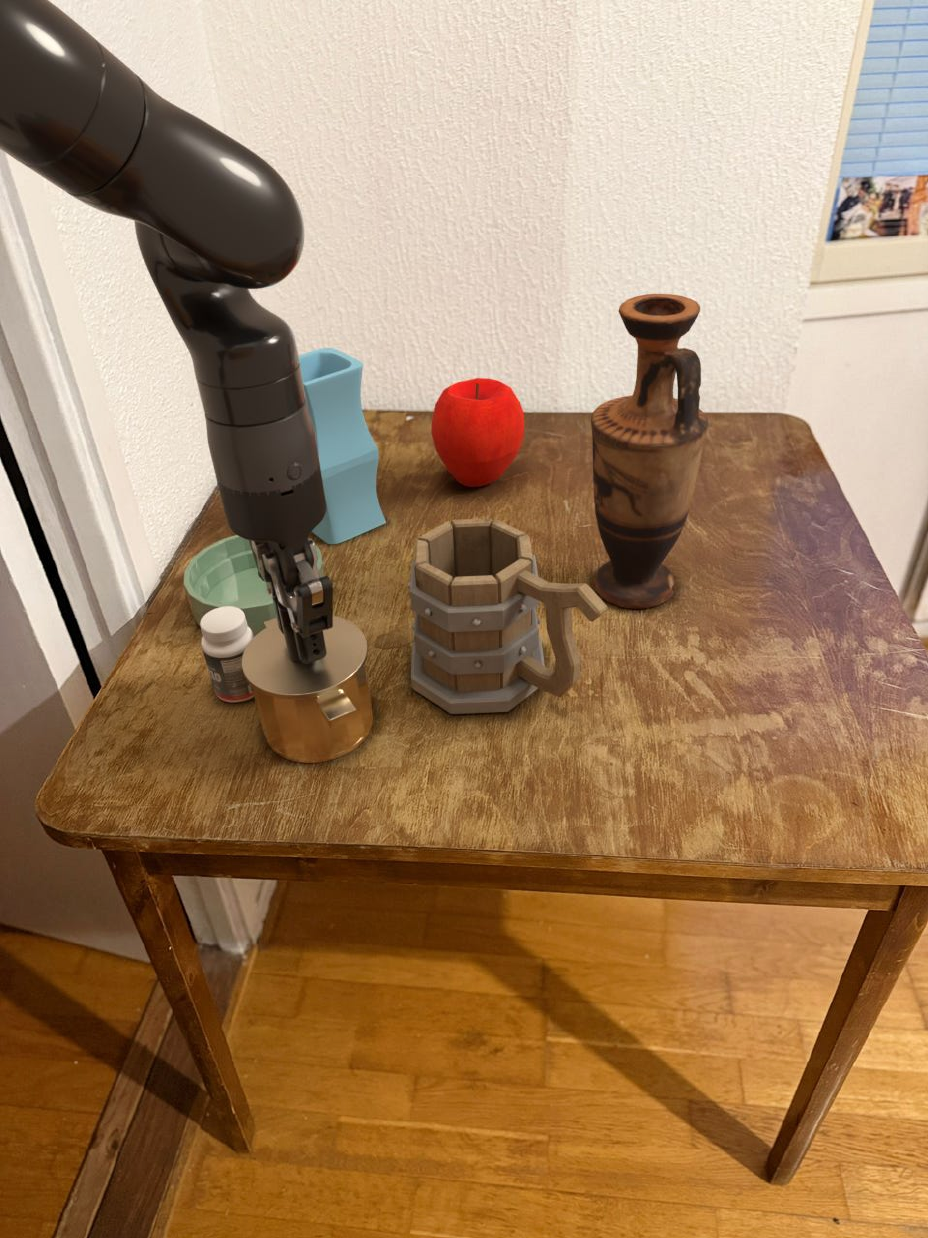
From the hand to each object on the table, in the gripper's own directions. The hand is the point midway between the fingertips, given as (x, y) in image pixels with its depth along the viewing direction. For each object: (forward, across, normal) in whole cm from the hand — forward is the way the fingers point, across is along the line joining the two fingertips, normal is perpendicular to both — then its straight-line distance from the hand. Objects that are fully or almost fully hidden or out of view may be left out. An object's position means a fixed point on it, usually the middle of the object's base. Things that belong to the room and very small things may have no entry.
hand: (303, 643), depth 75 cm
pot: (+9, 0, 0) cm, 9 cm away
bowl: (+9, -21, +2) cm, 23 cm away
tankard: (+10, +5, +17) cm, 20 cm away
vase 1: (+10, -31, +16) cm, 36 cm away
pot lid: (+1, 0, 0) cm, 1 cm away
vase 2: (+10, -1, +37) cm, 38 cm away
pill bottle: (+10, -9, -5) cm, 14 cm away
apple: (+10, -30, +35) cm, 47 cm away
